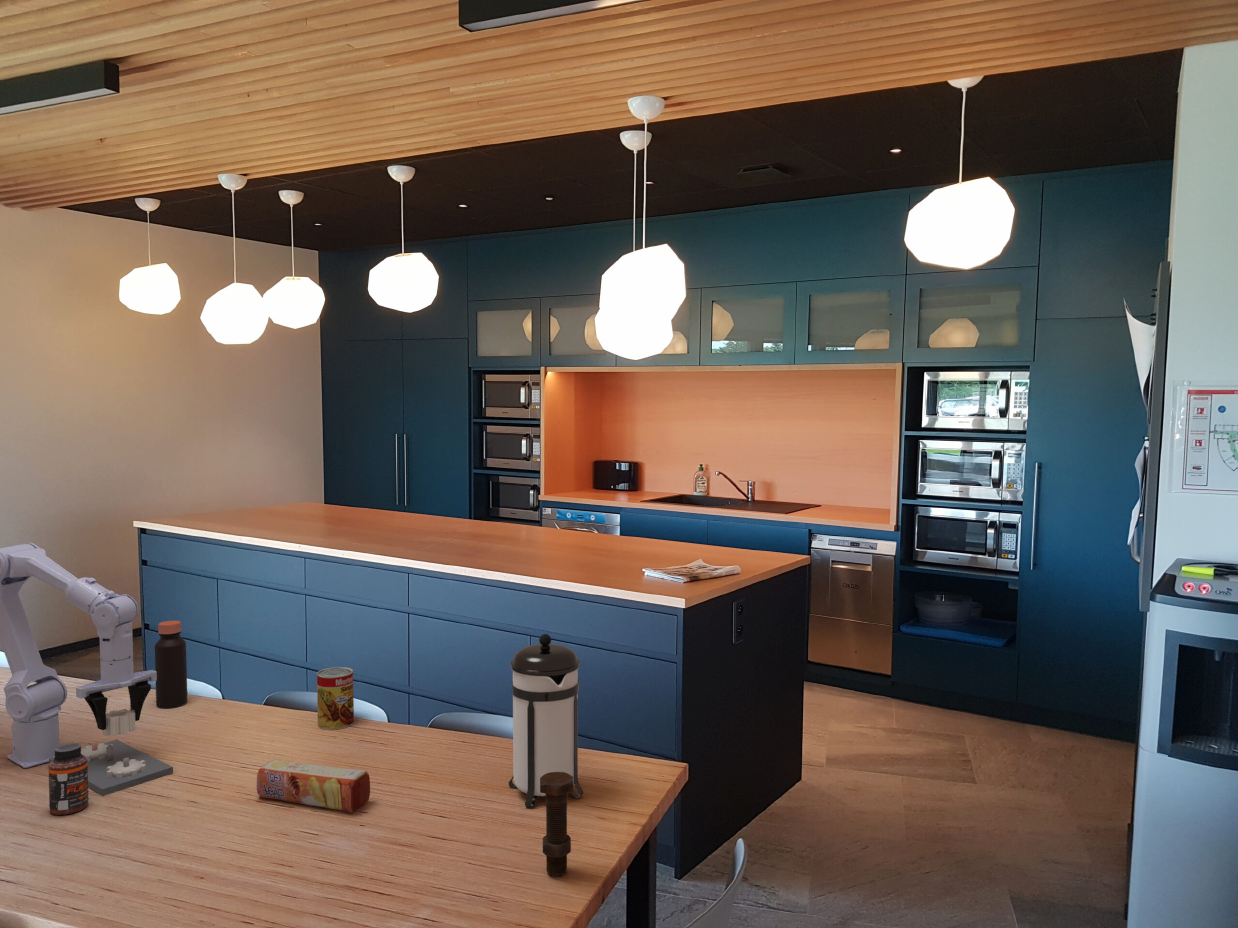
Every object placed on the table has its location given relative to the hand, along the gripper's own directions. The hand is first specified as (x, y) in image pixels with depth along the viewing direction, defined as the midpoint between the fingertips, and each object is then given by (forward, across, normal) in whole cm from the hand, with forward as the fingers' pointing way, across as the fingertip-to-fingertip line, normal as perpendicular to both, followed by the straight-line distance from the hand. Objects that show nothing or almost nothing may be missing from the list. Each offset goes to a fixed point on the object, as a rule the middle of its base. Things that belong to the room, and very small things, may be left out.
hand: (118, 723), depth 177 cm
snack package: (+9, +13, -45) cm, 48 cm away
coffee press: (+8, +42, -76) cm, 87 cm away
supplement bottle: (+9, -15, -13) cm, 22 cm away
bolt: (+8, +21, -98) cm, 100 cm away
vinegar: (+9, +25, +28) cm, 39 cm away
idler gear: (+1, 0, 0) cm, 1 cm away
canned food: (+8, +40, -15) cm, 44 cm away
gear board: (+8, -2, 0) cm, 9 cm away
